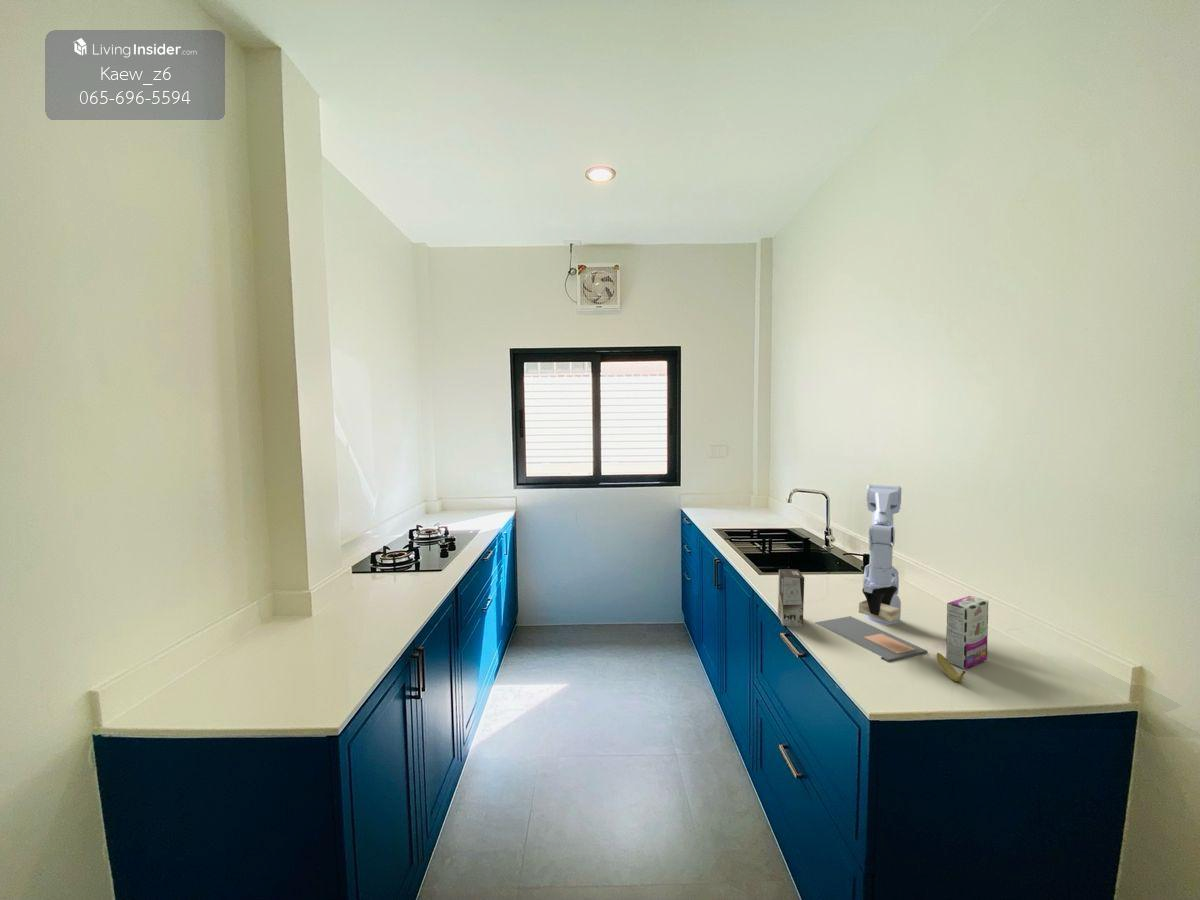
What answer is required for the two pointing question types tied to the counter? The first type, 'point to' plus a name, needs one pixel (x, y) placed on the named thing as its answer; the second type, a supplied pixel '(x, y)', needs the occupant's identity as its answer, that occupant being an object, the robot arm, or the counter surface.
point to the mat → (872, 638)
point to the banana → (949, 668)
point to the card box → (885, 613)
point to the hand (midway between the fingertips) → (879, 612)
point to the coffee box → (791, 597)
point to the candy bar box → (967, 631)
